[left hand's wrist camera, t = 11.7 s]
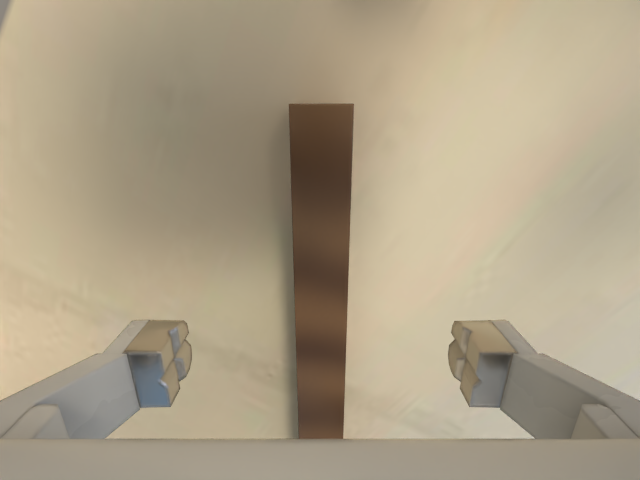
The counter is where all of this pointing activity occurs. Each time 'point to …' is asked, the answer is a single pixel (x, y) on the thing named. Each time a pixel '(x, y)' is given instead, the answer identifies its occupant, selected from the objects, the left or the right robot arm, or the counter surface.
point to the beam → (321, 260)
